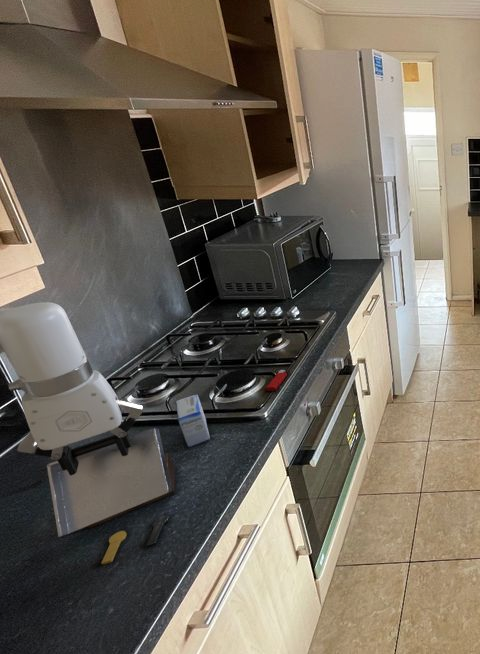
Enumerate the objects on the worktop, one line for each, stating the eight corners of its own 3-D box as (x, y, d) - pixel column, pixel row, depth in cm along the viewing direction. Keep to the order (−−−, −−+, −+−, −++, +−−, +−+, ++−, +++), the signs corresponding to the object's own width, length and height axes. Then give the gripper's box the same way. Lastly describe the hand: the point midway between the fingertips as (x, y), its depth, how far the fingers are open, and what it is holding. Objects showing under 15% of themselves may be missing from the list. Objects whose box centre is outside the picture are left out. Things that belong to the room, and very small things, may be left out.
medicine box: (185, 428, 102) (174, 400, 99) (206, 420, 105) (197, 393, 102) (188, 448, 97) (177, 419, 94) (211, 439, 100) (200, 410, 96)
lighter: (264, 387, 115) (279, 369, 123) (265, 390, 116) (279, 373, 123) (275, 387, 115) (288, 369, 123) (276, 390, 116) (289, 373, 123)
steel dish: (66, 534, 73) (46, 540, 66) (54, 461, 75) (33, 460, 69) (172, 491, 81) (163, 493, 75) (158, 426, 84) (148, 422, 77)
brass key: (98, 566, 73) (97, 564, 72) (112, 535, 78) (111, 533, 78) (115, 560, 74) (114, 558, 73) (128, 530, 79) (127, 528, 78)
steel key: (143, 548, 76) (142, 546, 75) (155, 519, 81) (155, 517, 81) (159, 543, 76) (158, 541, 76) (170, 515, 82) (170, 513, 81)
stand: (89, 528, 79) (78, 510, 77) (94, 500, 84) (85, 483, 82) (174, 493, 86) (167, 475, 84) (174, 469, 91) (167, 452, 89)
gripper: (-31, 412, 59) (25, 501, 66) (128, 369, 69) (162, 450, 76) (-14, 385, 65) (36, 470, 72) (131, 348, 74) (162, 426, 81)
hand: (100, 459), depth 74 cm, fingers closed on steel dish, 6 cm apart
